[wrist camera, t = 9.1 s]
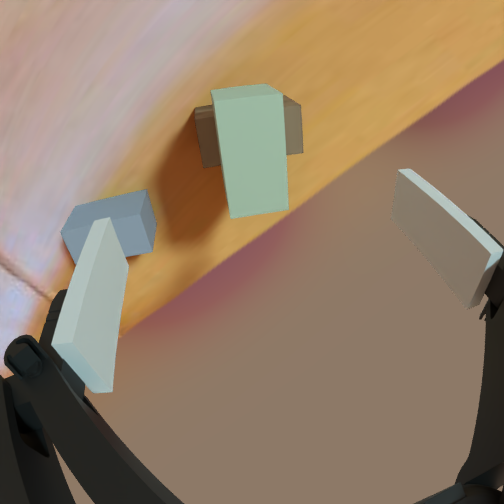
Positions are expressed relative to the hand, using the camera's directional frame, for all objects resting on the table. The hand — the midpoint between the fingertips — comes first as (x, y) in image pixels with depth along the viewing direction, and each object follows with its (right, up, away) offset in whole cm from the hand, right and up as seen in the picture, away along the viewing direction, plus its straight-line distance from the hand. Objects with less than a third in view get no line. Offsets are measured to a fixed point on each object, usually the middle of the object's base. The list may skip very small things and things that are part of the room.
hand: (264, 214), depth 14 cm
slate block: (-14, +2, +17) cm, 22 cm away
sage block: (-1, +7, +10) cm, 12 cm away
